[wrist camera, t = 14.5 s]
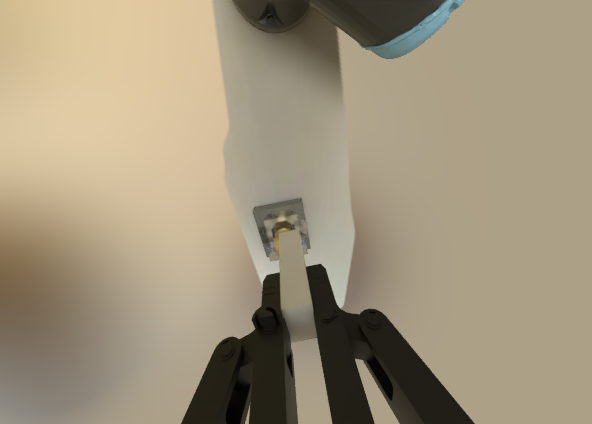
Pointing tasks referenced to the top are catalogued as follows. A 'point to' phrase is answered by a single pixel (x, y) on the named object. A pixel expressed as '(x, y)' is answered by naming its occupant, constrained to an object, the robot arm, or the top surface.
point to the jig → (279, 213)
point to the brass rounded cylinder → (280, 228)
